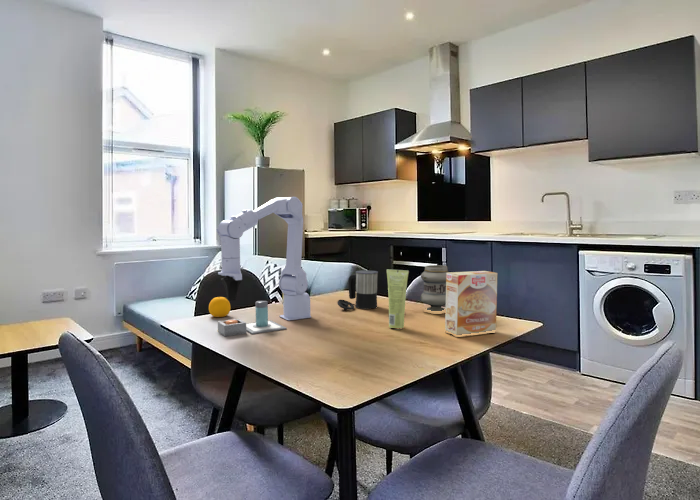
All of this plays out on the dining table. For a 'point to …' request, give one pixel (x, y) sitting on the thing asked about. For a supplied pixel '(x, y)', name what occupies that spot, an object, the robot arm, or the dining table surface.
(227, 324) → the button
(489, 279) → the coffeecake box
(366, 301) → the milk frother
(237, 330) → the button housing
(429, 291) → the apothecary jar
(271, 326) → the board
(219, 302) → the apple
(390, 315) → the tube
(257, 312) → the marker
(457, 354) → the dining table surface
